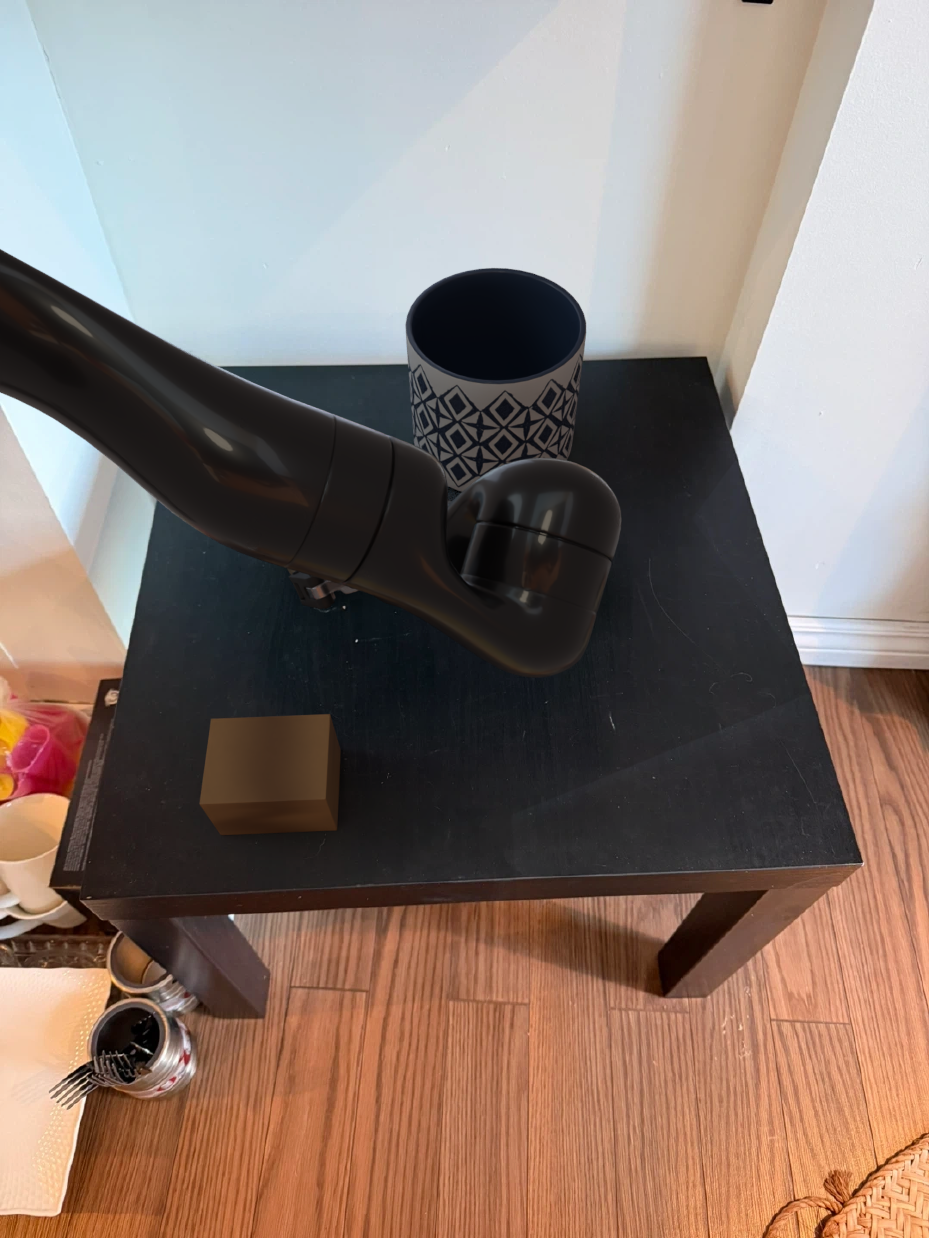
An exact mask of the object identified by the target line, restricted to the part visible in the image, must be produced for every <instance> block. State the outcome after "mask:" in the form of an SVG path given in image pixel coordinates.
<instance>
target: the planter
mask: <svg viewBox="0 0 929 1238" xmlns="http://www.w3.org/2000/svg"><path fill="white" fill-rule="evenodd" d="M404 325H405V327H404V328H405V340H406V341H405V343H406V355H407V357H406V358H407V369H408V381H409V395H410V405H411V407H410V408H411V421H412V432H413V443H414V444H413V445H415V446H418V447H420V448H422V449H423V450H425V451H427V452H429V453H430V454H432V455H433V456H435V457H436V458H437V459H438V460H439V462H440V463H441V465H442V466H443V468H444V471H445V474H446V478H447V484H448V488H451V489H453V490H456V491H458V492H460V493H462V492H463V491H464V490H465V489H466V488H467V487H469V486H470V485H471V484H472V483H473V482H475V481H476V480H477V479H479V478H480V477H481V476H483V475H484V474H486V473H487V472H489V471H490V470H492V469H494V468H496V467H499V466H501V465H504V464H507V463H510V462H513V461H517V460H522V459H529V458H556V459H562V460H567V461H568V459H569V456H570V454H571V451H572V446H573V440H574V432H575V426H576V425H575V424H576V419H577V410H578V402H579V396H580V387H581V381H582V380H581V379H582V372H583V371H582V370H583V364H584V356H585V348H586V337H587V320H586V316H585V313H584V311H583V309H582V307H581V305H580V303H579V302H578V300H576V298H575V297H574V296H573V295H572V294H571V293H570V292H569V291H568V290H566V288H564V287H563V286H561V285H560V284H558V283H557V282H555V281H553V280H551V279H549V278H547V277H545V276H542V275H539V274H536V273H534V272H529V271H525V270H520V269H516V268H515V269H514V268H506V267H505V268H504V267H486V268H476V269H469V270H465V271H461V272H457V273H454V274H452V275H449V276H446V277H444V278H442V279H440V280H438V281H436V282H434V283H432V284H431V285H430V286H428V287H427V288H425V289H424V290H423V291H422V292H420V294H419V295H418V296H417V297H416V298H415V299H414V301H413V302H412V304H411V306H410V308H409V310H408V312H407V314H406V318H405V324H404Z"/></svg>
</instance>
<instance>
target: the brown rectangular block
mask: <svg viewBox="0 0 929 1238" xmlns="http://www.w3.org/2000/svg"><path fill="white" fill-rule="evenodd" d="M332 719H333V718H332V716H331V714H330V713H324V714H302V715H301V714H297V715H274V716H273V715H271V716H249V717H225V718H223V717H222V718H221V717H220V718H210V724H209V732H208V738H207V746H206V754H205V761H204V769H203V775H202V783H201V789H200V797H199V806H200V807H201V809H202V810H203V811H204V814H205V815H206V816H207V817H208V819H209V820H210V822H211V823H212V825H213V826H214V828H215V830H216V831H218V834H219V835H220V836H234V835H239V836H240V835H258V834H259V835H260V834H261V835H262V834H283V833H285V834H286V833H305V832H333V831H338V826H339V825H338V823H339V821H338V820H339V799H340V798H339V797H340V775H341V753H342V751H341V746H340V743H339V739H338V736H337V733H336V729H335V726H334V723H333V720H332Z"/></svg>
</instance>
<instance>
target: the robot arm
mask: <svg viewBox="0 0 929 1238" xmlns="http://www.w3.org/2000/svg"><path fill="white" fill-rule="evenodd" d="M0 394H3V395H4V396H7V397H9V398H12V399H14V400H17V401H19V402H21V403H22V404H25V405H27V406H29V407H31V408H32V409H33V408H34V409H35V410H37V411H39V412H40V413H43V414H45V415H46V416H48V417H50V418H52V419H53V420H55V421H56V422H58V423H59V424H61V426H64V427H65V428H66V429H68V430H70V431H71V432H73V433H74V434H76V435H77V436H78V437H80V438H81V439H83V440H84V441H86V442H87V443H88V444H89V445H91V446H92V447H93V448H94V449H96V450H97V451H98V452H99V453H101V454H102V455H104V457H106V458H107V459H108V460H109V461H111V462H112V463H114V464H115V465H116V466H117V467H118V468H119V469H121V470H122V472H124V473H125V474H126V475H127V476H128V477H129V478H130V479H132V480H133V481H134V482H135V483H136V484H137V485H139V487H141V488H142V489H143V490H144V491H146V493H148V494H149V495H150V496H152V498H154V499H155V500H157V501H158V502H159V503H160V504H161V505H162V506H164V507H165V508H166V509H167V510H168V511H170V513H172V514H173V515H174V516H176V517H178V518H179V519H180V520H181V521H183V522H184V523H185V524H187V525H188V526H190V527H191V528H193V529H195V531H198V532H199V533H201V534H202V535H203V536H206V537H208V538H209V539H211V540H213V541H215V542H216V543H217V544H220V545H222V546H224V547H226V548H229V549H231V550H233V551H235V552H237V553H240V554H243V555H245V556H248V557H250V558H253V559H256V560H259V561H261V562H265V563H267V564H271V565H273V566H278V567H281V568H284V569H286V570H287V569H291V570H294V572H293V573H292V575H291V574H290V575H288V578H289V580H290V582H291V583H292V585H293V587H294V589H295V591H296V594H297V596H298V597H299V601H300V604H301V606H304V607H310V608H313V609H317V610H322V609H325V610H327V609H329V608H330V607H332V605H334V604H335V600H336V598H337V597H336V595H335V593H334V592H337V591H341V592H342V593H343V594H344V595H349V594H352V593H356V592H359V591H360V592H361V593H365V594H368V595H370V596H373V597H374V598H376V599H377V600H379V601H381V602H382V603H384V604H386V605H387V604H388V605H389V606H393V607H395V608H400V609H402V610H404V611H406V612H408V613H410V614H411V615H413V616H415V617H417V618H418V619H420V620H422V621H424V622H425V623H427V624H428V625H430V626H432V627H433V628H435V629H436V630H437V631H439V632H441V633H442V634H443V635H445V636H446V637H448V638H449V639H451V640H453V641H454V642H455V643H457V644H459V645H460V646H461V647H463V648H464V649H466V650H467V651H468V652H470V653H472V654H473V655H474V656H476V657H477V658H479V659H481V660H483V661H484V662H486V663H488V664H489V665H491V666H493V667H494V668H496V669H499V670H501V671H503V672H505V673H507V674H511V675H515V676H518V677H523V678H531V679H538V678H548V677H552V676H555V675H558V674H562V673H564V672H565V671H567V670H570V669H571V668H573V666H575V665H576V664H577V663H578V662H579V661H580V660H581V659H582V657H583V656H584V654H585V652H586V650H587V648H588V646H589V642H590V640H591V636H592V633H593V631H594V627H595V623H596V619H597V616H598V611H599V609H600V606H601V601H602V598H603V596H604V593H605V588H606V586H607V582H608V578H609V575H610V571H611V568H612V565H613V564H612V562H613V560H614V558H615V554H616V551H617V548H618V544H619V541H620V537H621V534H622V533H621V532H622V523H623V518H622V515H623V514H622V509H621V506H620V503H619V500H618V498H617V496H616V494H615V492H614V491H613V489H612V488H611V486H609V484H608V482H606V480H605V479H603V478H602V477H601V476H600V475H598V474H597V473H596V472H595V471H593V470H592V469H590V468H588V467H586V466H584V465H582V464H579V463H577V462H574V461H571V460H568V459H567V460H562V459H556V458H529V459H522V460H517V461H513V462H510V463H507V464H504V465H501V466H499V467H496V468H494V469H492V470H490V471H489V472H487V473H486V474H484V475H483V476H481V477H480V478H479V479H477V480H476V481H475V482H473V483H472V484H471V485H470V486H469V487H467V488H466V489H465V490H464V491H463V492H460V493H459V494H458V495H457V496H456V497H455V498H453V500H450V499H449V486H448V484H447V478H446V474H445V471H444V468H443V466H442V465H441V463H440V462H439V460H438V459H437V458H436V457H435V456H433V455H432V454H430V453H429V452H427V451H425V450H423V449H422V448H420V447H418V446H415V445H414V444H413V443H410V442H408V441H406V440H402V439H400V438H398V437H395V436H393V435H389V434H386V433H384V432H381V431H379V430H376V429H373V428H371V427H368V426H365V425H363V424H361V423H359V422H355V421H352V420H350V419H348V418H345V417H342V416H339V415H337V414H335V413H331V412H329V411H326V410H324V409H321V408H318V407H315V406H313V405H309V404H308V403H304V402H302V401H299V400H296V399H294V398H290V397H289V396H286V395H283V394H281V393H279V392H276V391H275V390H271V389H269V388H267V387H264V386H262V385H260V384H257V383H255V382H252V381H250V380H249V379H246V378H244V377H241V376H239V375H237V374H235V373H233V372H231V371H229V370H227V369H224V368H222V367H219V366H217V365H216V364H214V363H211V362H210V361H208V360H206V359H203V358H202V357H200V356H197V355H195V354H193V353H191V352H190V351H187V350H185V349H184V348H181V347H179V346H178V345H176V344H174V343H172V342H170V341H168V340H167V339H164V338H162V337H161V336H159V335H157V334H155V333H154V332H152V331H150V330H149V329H146V328H145V327H142V326H141V325H139V324H137V323H136V322H134V321H132V320H130V319H128V318H126V317H124V315H123V316H122V315H121V314H119V313H117V312H116V311H115V310H112V309H110V308H109V307H106V306H105V305H102V304H101V303H99V302H98V301H96V300H94V299H93V298H90V297H88V295H85V294H83V293H82V292H80V291H78V290H76V289H74V288H73V287H71V286H69V285H67V284H65V283H64V282H62V281H60V280H58V279H56V278H55V277H53V276H51V275H49V274H47V273H46V272H44V271H41V270H40V269H38V268H36V267H34V266H32V265H30V264H29V263H27V262H25V261H23V260H21V259H19V258H18V257H16V256H13V254H10V253H8V252H6V251H5V250H3V249H1V248H0Z"/></svg>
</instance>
